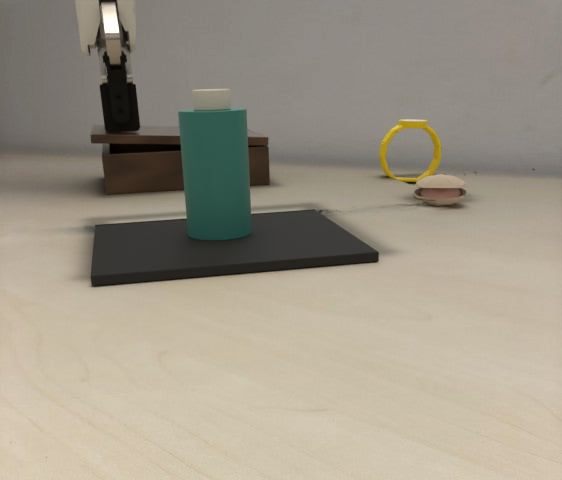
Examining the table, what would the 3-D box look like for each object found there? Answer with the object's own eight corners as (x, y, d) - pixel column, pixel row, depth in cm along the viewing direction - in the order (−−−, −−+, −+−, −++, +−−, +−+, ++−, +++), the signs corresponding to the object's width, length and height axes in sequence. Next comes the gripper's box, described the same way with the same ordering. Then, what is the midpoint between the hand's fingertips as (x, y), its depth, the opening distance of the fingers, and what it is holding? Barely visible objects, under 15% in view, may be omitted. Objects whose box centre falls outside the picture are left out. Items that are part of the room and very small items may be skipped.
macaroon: (411, 208, 58) (413, 177, 57) (415, 198, 62) (417, 169, 61) (465, 209, 57) (468, 177, 56) (465, 198, 61) (468, 169, 60)
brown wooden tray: (107, 202, 65) (101, 155, 63) (107, 183, 76) (102, 142, 74) (270, 191, 68) (268, 146, 66) (247, 175, 79) (245, 135, 77)
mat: (91, 286, 39) (90, 276, 39) (96, 226, 55) (95, 219, 54) (379, 261, 43) (379, 251, 42) (308, 211, 58) (307, 204, 58)
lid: (90, 143, 63) (86, 75, 60) (93, 132, 74) (89, 75, 72) (268, 145, 66) (270, 81, 64) (245, 135, 77) (246, 80, 75)
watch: (383, 185, 69) (384, 121, 67) (376, 181, 72) (377, 120, 69) (442, 183, 70) (445, 119, 67) (433, 179, 72) (436, 117, 70)
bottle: (191, 242, 46) (179, 91, 42) (185, 229, 50) (173, 90, 46) (257, 237, 47) (251, 89, 43) (246, 225, 51) (239, 87, 47)
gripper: (58, -68, 68) (85, 124, 76) (44, -111, 53) (79, 137, 60) (136, -68, 70) (155, 121, 77) (145, -109, 54) (167, 133, 61)
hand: (122, 126), depth 68 cm, fingers open, 7 cm apart
